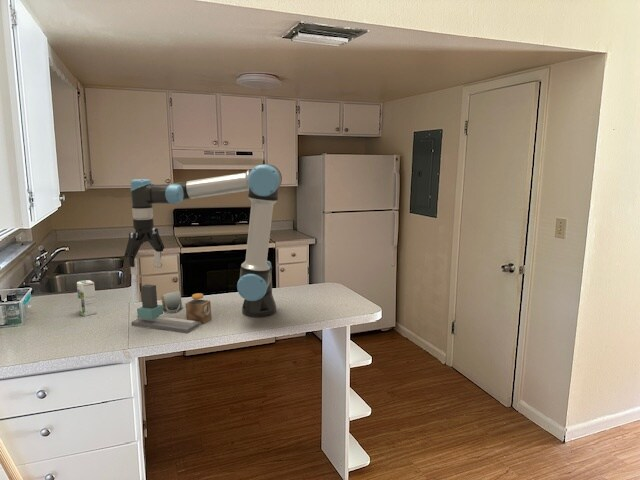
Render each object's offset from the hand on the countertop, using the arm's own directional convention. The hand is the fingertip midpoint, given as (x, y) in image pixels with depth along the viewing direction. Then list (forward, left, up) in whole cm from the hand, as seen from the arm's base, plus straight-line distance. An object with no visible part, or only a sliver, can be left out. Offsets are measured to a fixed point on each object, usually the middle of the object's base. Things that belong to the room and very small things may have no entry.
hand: (146, 270), depth 179 cm
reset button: (-17, -9, -13) cm, 23 cm away
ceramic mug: (+2, -18, -23) cm, 29 cm away
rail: (-8, 0, -22) cm, 24 cm away
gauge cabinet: (-17, -9, -22) cm, 30 cm away
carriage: (0, 0, -19) cm, 19 cm away
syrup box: (+35, -1, -23) cm, 42 cm away
